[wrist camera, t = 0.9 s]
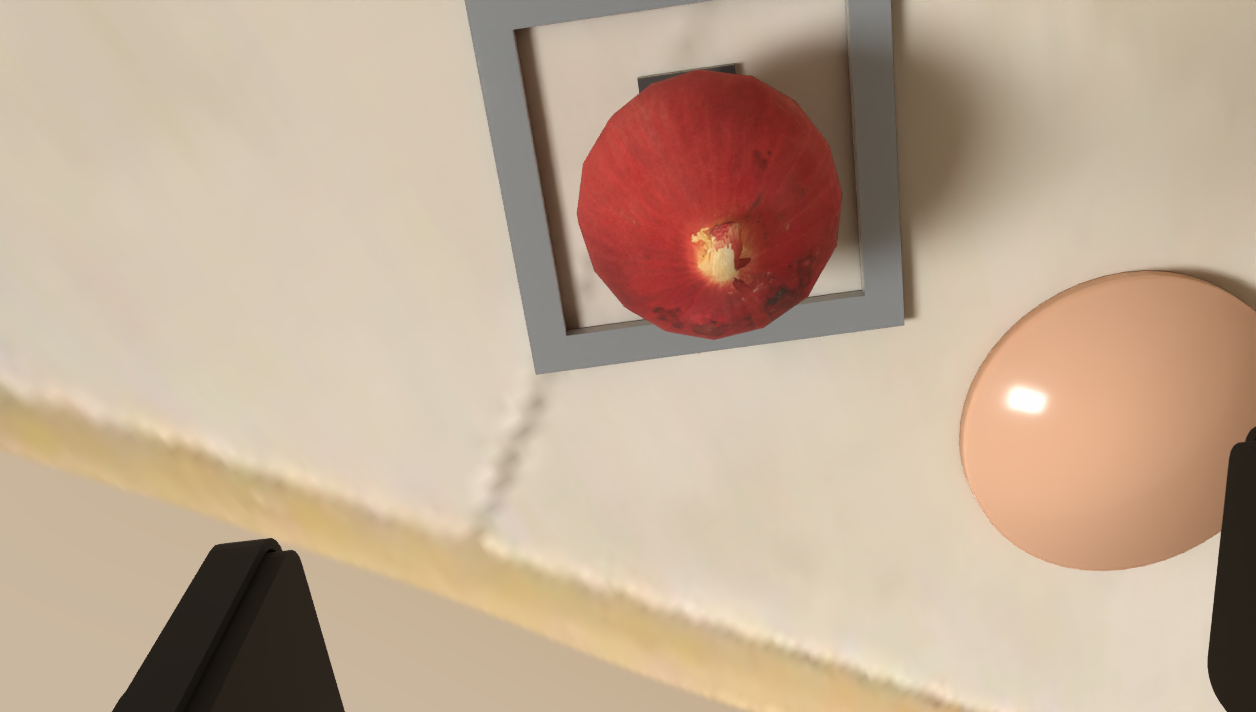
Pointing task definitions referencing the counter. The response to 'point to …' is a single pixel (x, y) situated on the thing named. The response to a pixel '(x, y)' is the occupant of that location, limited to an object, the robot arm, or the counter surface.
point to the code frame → (520, 3)
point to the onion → (710, 204)
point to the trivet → (1113, 420)
